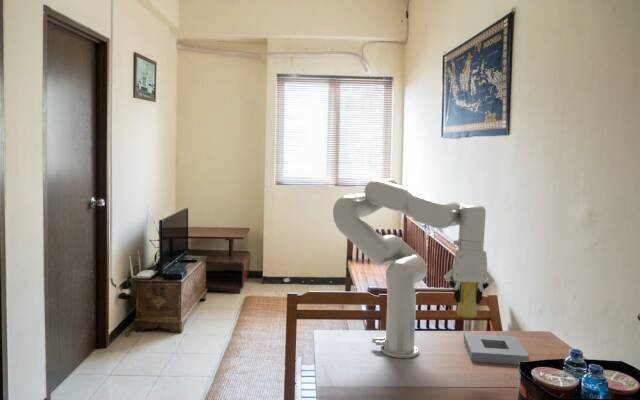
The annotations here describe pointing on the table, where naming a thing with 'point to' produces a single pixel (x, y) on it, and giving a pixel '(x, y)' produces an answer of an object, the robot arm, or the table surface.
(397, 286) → the robot arm
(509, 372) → the table surface
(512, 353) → the socket plate
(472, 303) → the vase
